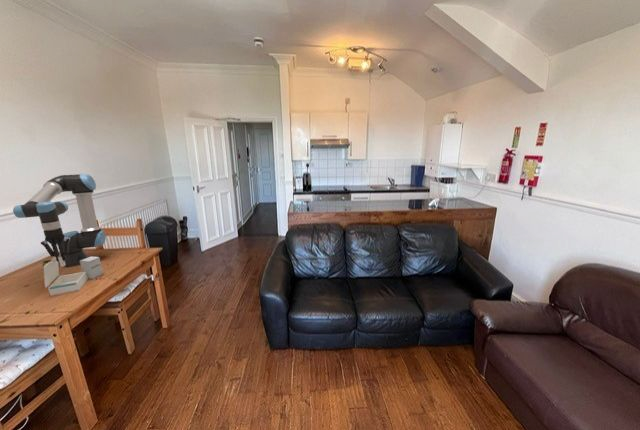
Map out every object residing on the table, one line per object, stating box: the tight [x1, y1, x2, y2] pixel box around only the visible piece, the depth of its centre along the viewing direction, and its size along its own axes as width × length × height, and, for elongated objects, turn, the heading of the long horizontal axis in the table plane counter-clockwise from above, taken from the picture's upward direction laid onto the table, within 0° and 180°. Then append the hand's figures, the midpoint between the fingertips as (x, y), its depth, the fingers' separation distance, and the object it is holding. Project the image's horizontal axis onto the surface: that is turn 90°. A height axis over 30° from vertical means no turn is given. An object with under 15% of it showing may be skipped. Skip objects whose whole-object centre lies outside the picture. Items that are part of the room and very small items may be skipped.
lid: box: [43, 256, 60, 288], centre depth 157 cm, size 18×13×2 cm
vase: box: [41, 259, 60, 285], centre depth 168 cm, size 6×6×14 cm
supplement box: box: [79, 256, 104, 280], centre depth 174 cm, size 7×7×13 cm
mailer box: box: [47, 271, 88, 297], centre depth 162 cm, size 16×13×5 cm
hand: (63, 265), depth 159 cm, fingers closed
